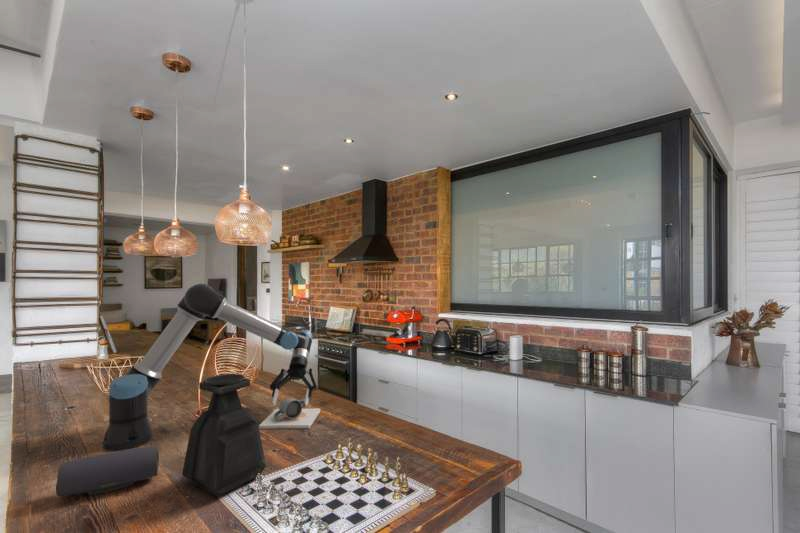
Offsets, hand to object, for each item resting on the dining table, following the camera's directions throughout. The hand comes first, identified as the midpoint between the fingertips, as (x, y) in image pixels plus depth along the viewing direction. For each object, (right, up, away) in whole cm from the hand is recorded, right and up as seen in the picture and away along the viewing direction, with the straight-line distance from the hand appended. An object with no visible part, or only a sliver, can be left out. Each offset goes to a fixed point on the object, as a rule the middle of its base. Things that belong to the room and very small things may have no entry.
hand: (289, 404), depth 164 cm
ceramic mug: (-1, -6, +1) cm, 6 cm away
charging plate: (0, -7, +8) cm, 11 cm away
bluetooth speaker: (-37, -6, -51) cm, 63 cm away
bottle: (-6, -6, -48) cm, 48 cm away
